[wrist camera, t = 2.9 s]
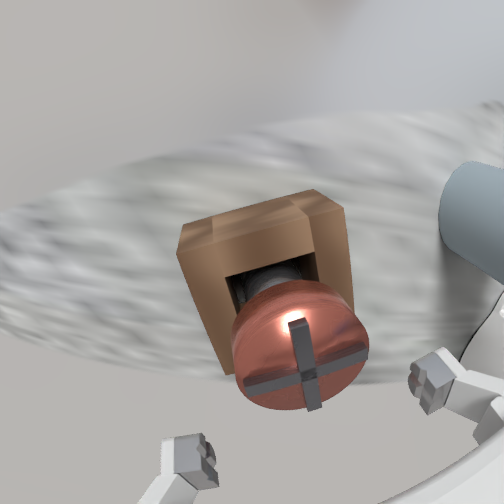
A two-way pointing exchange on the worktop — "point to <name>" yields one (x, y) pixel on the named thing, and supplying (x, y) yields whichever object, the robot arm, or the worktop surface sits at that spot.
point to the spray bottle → (475, 216)
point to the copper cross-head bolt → (294, 340)
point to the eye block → (261, 255)
